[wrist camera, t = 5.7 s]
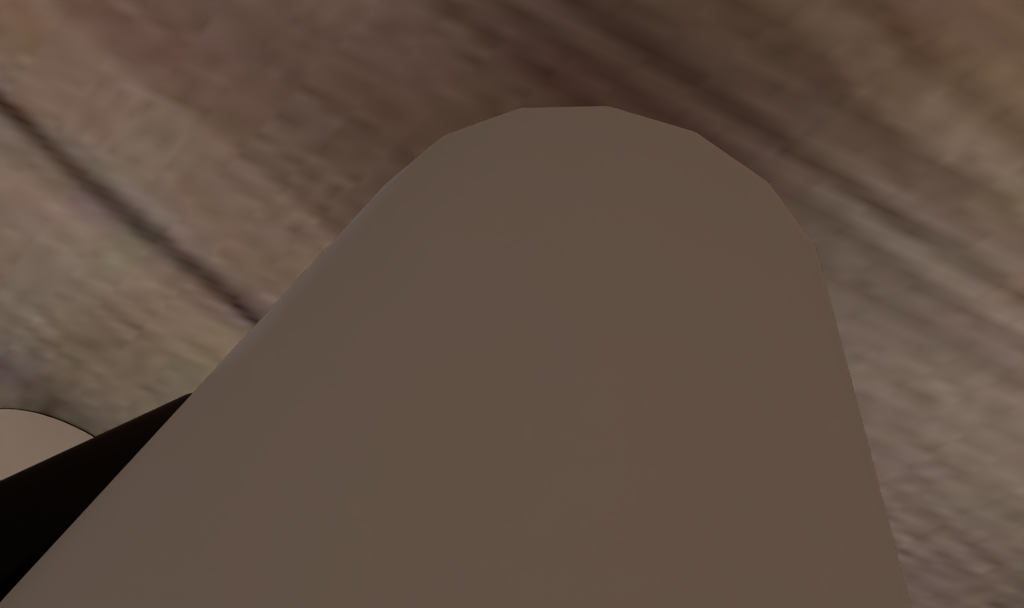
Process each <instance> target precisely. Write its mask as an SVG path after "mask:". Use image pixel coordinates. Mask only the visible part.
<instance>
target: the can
mask: <svg viewBox="0 0 1024 608" xmlns="http://www.w3.org/2000/svg"><path fill="white" fill-rule="evenodd" d="M0 608H911V605H910V601H909V597H908V593H907V589H906V586H905V582H904V578H903V574H902V570H901V567H900V563H899V559H898V555H897V551H896V548H895V544H894V540H893V536H892V533H891V529H890V525H889V521H888V517H887V514H886V510H885V506H884V502H883V498H882V495H881V491H880V487H879V483H878V480H877V476H876V472H875V468H874V464H873V461H872V457H871V453H870V449H869V445H868V442H867V438H866V434H865V430H864V426H863V423H862V419H861V415H860V411H859V408H858V404H857V400H856V396H855V392H854V389H853V385H852V381H851V377H850V373H849V370H848V366H847V362H846V358H845V355H844V351H843V347H842V343H841V339H840V336H839V332H838V328H837V324H836V320H835V317H834V313H833V309H832V305H831V301H830V298H829V294H828V290H827V286H826V283H825V279H824V275H823V271H822V267H821V264H820V260H819V256H818V252H817V249H816V247H815V246H814V245H813V243H812V242H811V240H810V239H809V238H808V236H807V235H806V233H805V232H804V231H803V229H802V228H801V227H800V225H799V224H798V222H797V221H796V220H795V218H794V217H793V215H792V214H791V213H790V211H789V210H788V209H787V207H786V206H785V204H784V203H783V202H782V200H781V199H780V197H779V196H778V195H777V193H776V192H775V191H774V189H773V188H772V186H771V185H770V184H769V182H767V181H766V180H764V179H763V178H762V177H760V176H759V175H757V174H756V173H754V172H753V171H751V170H750V169H748V168H747V167H746V166H744V165H743V164H741V163H740V162H738V161H737V160H735V159H734V158H733V157H731V156H730V155H728V154H727V153H725V152H724V151H722V150H721V149H720V148H718V147H717V146H715V145H714V144H712V143H711V142H709V141H708V140H707V139H705V138H704V137H702V136H701V135H699V134H698V133H696V132H694V131H691V130H687V129H684V128H681V127H677V126H674V125H670V124H667V123H664V122H660V121H657V120H654V119H650V118H647V117H644V116H640V115H637V114H633V113H630V112H627V111H623V110H620V109H617V108H613V107H610V106H585V107H538V108H518V109H515V110H513V111H510V112H507V113H504V114H502V115H499V116H496V117H493V118H490V119H488V120H485V121H482V122H479V123H477V124H474V125H471V126H468V127H465V128H463V129H460V130H457V131H454V132H451V133H449V134H446V135H443V136H442V137H441V138H440V139H438V140H437V141H436V142H435V143H434V144H432V145H431V146H430V147H429V148H428V149H426V150H425V151H424V152H423V153H422V154H420V155H419V156H418V157H417V158H416V159H414V160H413V161H412V162H411V163H410V164H408V165H407V166H406V167H405V168H404V169H402V170H401V171H400V172H399V173H398V174H396V175H395V176H394V177H393V178H392V179H390V180H389V181H388V182H387V183H386V184H385V185H384V186H383V187H382V188H381V189H380V191H379V192H378V193H377V194H376V195H375V196H374V197H373V198H372V199H371V200H370V201H369V202H368V204H367V205H366V206H365V207H364V208H363V209H362V210H361V211H360V212H359V213H358V214H357V215H356V217H355V218H354V219H353V220H352V221H351V222H350V223H349V224H348V225H347V226H346V227H345V229H344V230H343V231H342V232H341V233H340V234H339V235H338V236H337V237H336V238H335V239H334V240H333V242H332V243H331V244H330V245H329V246H328V247H327V248H326V249H325V250H324V251H323V252H322V253H321V255H320V256H319V257H318V258H317V259H316V260H315V261H314V262H313V263H312V264H311V265H310V266H309V268H308V269H307V270H306V271H305V272H304V273H303V274H302V275H301V276H300V277H299V278H298V280H297V281H296V282H295V283H294V284H293V285H292V286H291V287H290V288H289V289H288V290H287V291H286V293H285V294H284V295H283V296H282V297H281V298H280V299H279V300H278V301H277V302H276V303H275V304H274V306H273V307H272V308H271V309H270V310H269V311H268V312H267V313H266V314H265V315H264V316H263V318H262V319H261V320H260V321H259V322H258V323H257V324H256V325H255V326H254V327H253V328H252V329H251V331H250V332H249V333H248V334H247V335H246V336H245V337H244V338H243V339H242V340H241V341H240V342H239V344H238V345H237V346H236V347H235V348H234V349H233V350H232V351H231V352H230V353H229V354H228V355H227V357H226V358H225V359H224V360H223V361H222V362H221V363H220V364H219V365H218V366H217V367H216V369H215V370H214V371H213V372H212V373H211V374H210V375H209V376H208V377H207V378H206V379H205V380H204V382H203V383H202V384H201V385H200V386H199V387H198V388H197V389H196V390H195V391H194V392H193V393H192V395H191V396H190V397H189V398H188V399H187V400H186V401H185V402H184V403H183V404H182V405H181V407H180V408H179V409H178V410H177V411H176V412H175V413H174V414H173V415H172V416H171V417H170V418H169V420H168V421H167V422H166V423H165V424H164V425H163V426H162V427H161V428H160V429H159V430H158V431H157V433H156V434H155V435H154V436H153V437H152V438H151V439H150V440H149V441H148V442H147V443H146V444H145V446H144V447H143V448H142V449H141V450H140V451H139V452H138V453H137V454H136V455H135V456H134V458H133V459H132V460H131V461H130V462H129V463H128V464H127V465H126V466H125V467H124V468H123V469H122V471H121V472H120V473H119V474H118V475H117V476H116V477H115V478H114V479H113V480H112V481H111V482H110V484H109V485H108V486H107V487H106V488H105V489H104V490H103V491H102V492H101V493H100V494H99V495H98V497H97V498H96V499H95V500H94V501H93V502H92V503H91V504H90V505H89V506H88V507H87V509H86V510H85V511H84V512H83V513H82V514H81V515H80V516H79V517H78V518H77V519H76V520H75V522H74V523H73V524H72V525H71V526H70V527H69V528H68V529H67V530H66V531H65V532H64V533H63V535H62V536H61V537H60V538H59V539H58V540H57V541H56V542H55V543H54V544H53V545H52V547H51V548H50V549H49V550H48V551H47V552H46V553H45V554H44V555H43V556H42V557H41V558H40V560H39V561H38V562H37V563H36V564H35V565H34V566H33V567H32V568H31V569H30V570H29V571H28V573H27V574H26V575H25V576H24V577H23V578H22V579H21V580H20V581H19V582H18V583H17V584H16V586H15V587H14V588H13V589H12V590H11V591H10V592H9V593H8V594H7V595H6V596H5V598H4V599H3V600H2V601H1V602H0Z"/></svg>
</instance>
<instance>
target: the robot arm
mask: <svg viewBox="0 0 1024 608" xmlns="http://www.w3.org/2000/svg"><path fill="white" fill-rule="evenodd" d="M191 395H192V393H190V394H187V395H184V396H182V397H180V398H178V399H176V400H173V401H171V402H169V403H167V404H165V405H163V406H160V407H158V408H156V409H154V410H152V411H150V412H147V413H145V414H143V415H141V416H139V417H137V418H134V419H132V420H130V421H128V422H126V423H124V424H122V425H119V426H117V427H115V428H113V429H111V430H109V431H106V432H104V433H102V434H100V435H98V436H96V437H93V438H91V439H89V440H87V441H85V442H83V443H81V444H78V445H76V446H74V447H72V448H70V449H68V450H65V451H63V452H61V453H59V454H57V455H55V456H52V457H50V458H48V459H46V460H44V461H42V462H40V463H37V464H35V465H33V466H31V467H29V468H27V469H24V470H22V471H20V472H18V473H16V474H14V475H11V476H9V477H7V478H5V479H3V480H1V481H0V602H1V601H2V600H3V599H4V598H5V596H6V595H7V594H8V593H9V592H10V591H11V590H12V589H13V588H14V587H15V586H16V584H17V583H18V582H19V581H20V580H21V579H22V578H23V577H24V576H25V575H26V574H27V573H28V571H29V570H30V569H31V568H32V567H33V566H34V565H35V564H36V563H37V562H38V561H39V560H40V558H41V557H42V556H43V555H44V554H45V553H46V552H47V551H48V550H49V549H50V548H51V547H52V545H53V544H54V543H55V542H56V541H57V540H58V539H59V538H60V537H61V536H62V535H63V533H64V532H65V531H66V530H67V529H68V528H69V527H70V526H71V525H72V524H73V523H74V522H75V520H76V519H77V518H78V517H79V516H80V515H81V514H82V513H83V512H84V511H85V510H86V509H87V507H88V506H89V505H90V504H91V503H92V502H93V501H94V500H95V499H96V498H97V497H98V495H99V494H100V493H101V492H102V491H103V490H104V489H105V488H106V487H107V486H108V485H109V484H110V482H111V481H112V480H113V479H114V478H115V477H116V476H117V475H118V474H119V473H120V472H121V471H122V469H123V468H124V467H125V466H126V465H127V464H128V463H129V462H130V461H131V460H132V459H133V458H134V456H135V455H136V454H137V453H138V452H139V451H140V450H141V449H142V448H143V447H144V446H145V444H146V443H147V442H148V441H149V440H150V439H151V438H152V437H153V436H154V435H155V434H156V433H157V431H158V430H159V429H160V428H161V427H162V426H163V425H164V424H165V423H166V422H167V421H168V420H169V418H170V417H171V416H172V415H173V414H174V413H175V412H176V411H177V410H178V409H179V408H180V407H181V405H182V404H183V403H184V402H185V401H186V400H187V399H188V398H189V397H190V396H191Z"/></svg>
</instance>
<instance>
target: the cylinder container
mask: <svg viewBox="0 0 1024 608" xmlns="http://www.w3.org/2000/svg"><path fill="white" fill-rule="evenodd" d="M91 438H93V437H92V436H91V435H89V434H87V433H86V432H84V431H82V430H80V429H78V428H76V427H74V426H71V425H69V424H67V423H65V422H62V421H60V420H57V419H54V418H51V417H48V416H45V415H42V414H38V413H34V412H28V411H22V410H15V409H0V481H1V480H3V479H5V478H7V477H9V476H11V475H14V474H16V473H18V472H20V471H22V470H24V469H27V468H29V467H31V466H33V465H35V464H37V463H40V462H42V461H44V460H46V459H48V458H50V457H52V456H55V455H57V454H59V453H61V452H63V451H65V450H68V449H70V448H72V447H74V446H76V445H78V444H81V443H83V442H85V441H87V440H89V439H91Z"/></svg>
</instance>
